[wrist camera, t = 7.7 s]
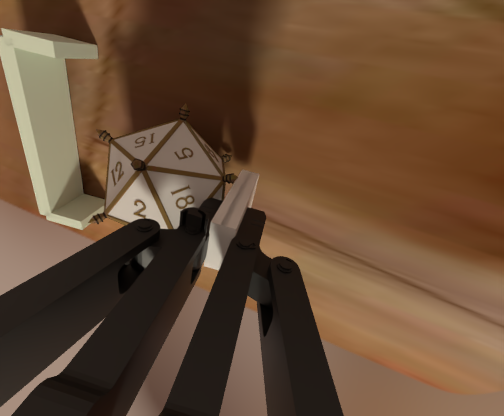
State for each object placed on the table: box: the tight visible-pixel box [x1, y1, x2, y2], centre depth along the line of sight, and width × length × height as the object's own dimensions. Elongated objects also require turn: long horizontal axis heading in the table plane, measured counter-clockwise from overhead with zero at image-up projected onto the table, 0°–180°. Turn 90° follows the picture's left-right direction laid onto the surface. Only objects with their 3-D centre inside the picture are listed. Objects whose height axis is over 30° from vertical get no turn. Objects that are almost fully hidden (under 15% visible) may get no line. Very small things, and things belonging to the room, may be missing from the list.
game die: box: [88, 103, 238, 229], centre depth 16 cm, size 9×8×10 cm
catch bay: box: [0, 28, 105, 230], centre depth 19 cm, size 4×13×4 cm, turn 168°
